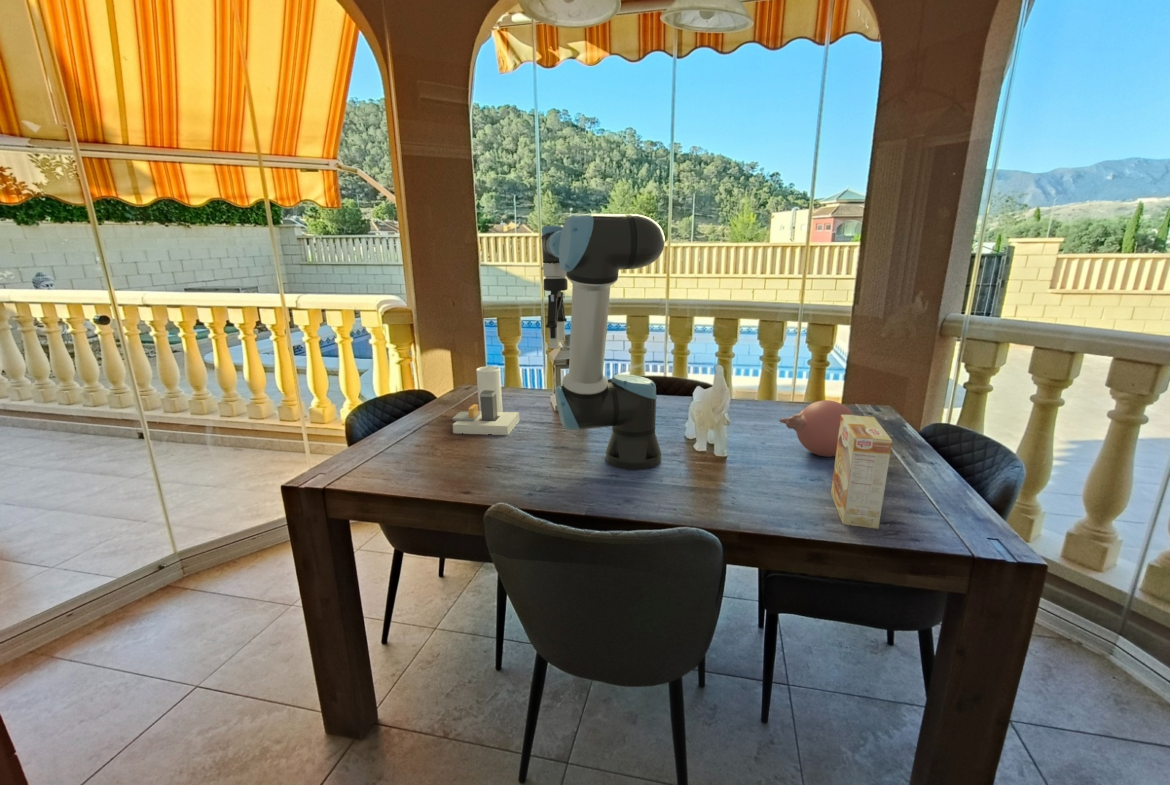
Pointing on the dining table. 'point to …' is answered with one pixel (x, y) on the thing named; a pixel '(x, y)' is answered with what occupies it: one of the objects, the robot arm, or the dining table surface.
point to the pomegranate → (818, 426)
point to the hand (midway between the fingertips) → (557, 344)
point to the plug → (488, 405)
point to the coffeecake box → (860, 470)
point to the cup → (489, 383)
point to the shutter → (468, 414)
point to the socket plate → (488, 424)
